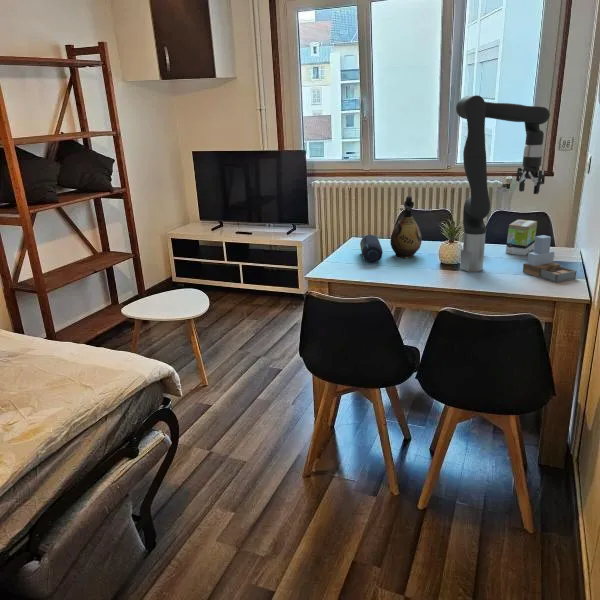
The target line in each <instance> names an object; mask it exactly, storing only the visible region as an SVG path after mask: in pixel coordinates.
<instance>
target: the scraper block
mask: <svg viewBox="0 0 600 600" xmlns="http://www.w3.org/2000/svg"><path fill="white" fill-rule="evenodd" d="M551 240H552V237H551V236H549V235H545V234H542V235H535V243H534V249H533V251H530V252H529V253H527V261H526V263H527V264H529V265H532V266H538V265H543V264H548V263H553V262H554V260H555V259H554V257H555V251H554V250H551V249H550V248H551V243H552V242H551Z"/></svg>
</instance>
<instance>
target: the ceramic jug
mask: <svg viewBox="0 0 600 600" xmlns="http://www.w3.org/2000/svg"><path fill="white" fill-rule="evenodd" d="M414 206H415V204H414V201H413V195H412V196H411V195H408V196H406V198H405V201H404V203H403V207H404V213H403V215H402V217H401V219H400V220H399V221H398V222H397V224H396V225H395V226H394V228H393V230H392V232H391V236H390V242H389V244H390V246H391V249H392V250H393V252H394V253H395V257H396V258H400V259H410V258H414V256H415V254H416V253H417V252H418V251H419V250H420V248H421V247H422V241H423V240H422V233H421V230H420V227H419V225H418V224H417V222H416V221H415V219H414V216H413V214H412V209H413V208H414Z"/></svg>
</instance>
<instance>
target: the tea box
mask: <svg viewBox="0 0 600 600" xmlns="http://www.w3.org/2000/svg"><path fill="white" fill-rule="evenodd" d="M537 227H538V221H537V220H528V219H527V220H526V219H516V220H515V221H512V222H511V223H510V224H509V225H508V230H507V231H508V232H507V238H506V239H507V240H506V246H505V253H506V254H509V255H510V254H511V255H518V256H526V255H528V253H531V252H532V251H534V243H535V237H536V236H537V235H536V234H537Z"/></svg>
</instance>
